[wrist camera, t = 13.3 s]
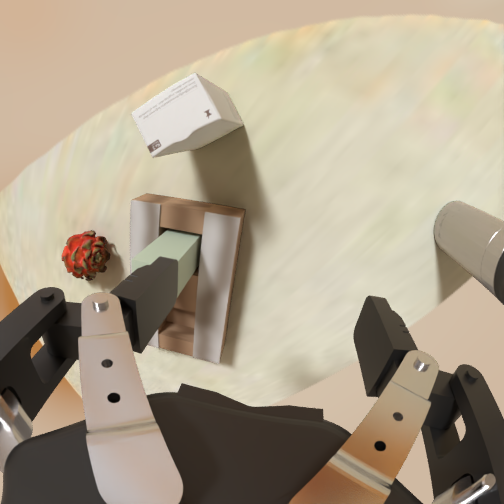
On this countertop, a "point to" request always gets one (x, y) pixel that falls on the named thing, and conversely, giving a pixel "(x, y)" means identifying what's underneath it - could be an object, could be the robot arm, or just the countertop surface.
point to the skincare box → (186, 116)
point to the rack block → (205, 276)
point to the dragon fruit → (85, 255)
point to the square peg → (173, 253)
